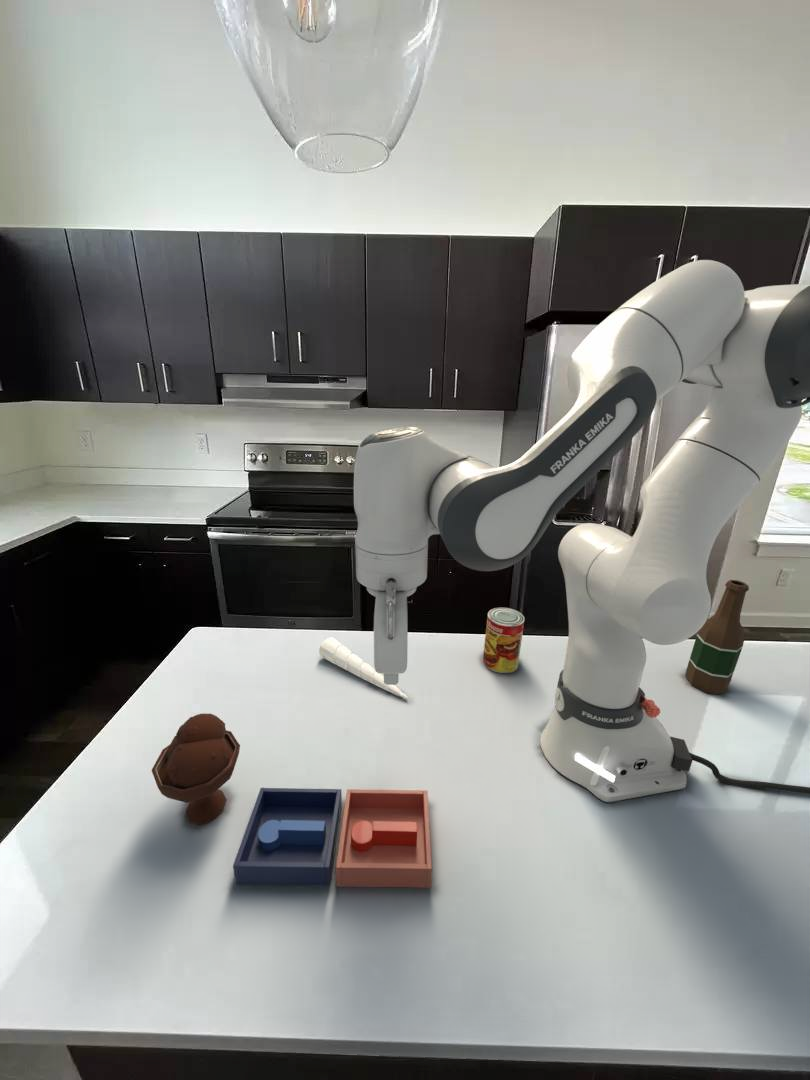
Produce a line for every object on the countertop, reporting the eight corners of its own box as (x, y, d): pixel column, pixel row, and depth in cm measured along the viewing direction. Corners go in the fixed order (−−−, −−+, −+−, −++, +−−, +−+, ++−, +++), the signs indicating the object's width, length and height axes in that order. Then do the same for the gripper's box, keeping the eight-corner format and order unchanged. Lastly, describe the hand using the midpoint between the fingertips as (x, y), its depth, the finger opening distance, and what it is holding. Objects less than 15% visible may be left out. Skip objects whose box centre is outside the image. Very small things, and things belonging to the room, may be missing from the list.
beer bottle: (726, 680, 93) (760, 580, 84) (728, 700, 87) (766, 595, 78) (684, 667, 97) (713, 571, 88) (683, 686, 90) (715, 584, 82)
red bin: (426, 807, 63) (427, 790, 62) (430, 887, 53) (431, 869, 52) (347, 806, 63) (346, 789, 62) (336, 886, 53) (335, 867, 52)
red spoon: (416, 829, 59) (416, 815, 58) (416, 853, 56) (417, 838, 55) (352, 828, 59) (352, 813, 58) (349, 851, 56) (349, 837, 55)
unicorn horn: (395, 711, 81) (395, 690, 80) (317, 659, 96) (316, 641, 94) (411, 698, 85) (412, 678, 83) (334, 650, 99) (333, 633, 98)
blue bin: (342, 806, 63) (341, 788, 62) (330, 886, 53) (329, 867, 52) (262, 805, 63) (260, 787, 62) (236, 885, 53) (232, 866, 52)
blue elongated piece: (327, 828, 59) (326, 814, 58) (323, 852, 56) (322, 837, 55) (263, 827, 59) (261, 812, 58) (255, 851, 56) (253, 836, 55)
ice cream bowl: (166, 789, 65) (148, 710, 60) (244, 766, 69) (233, 690, 64) (159, 856, 56) (137, 770, 51) (249, 824, 60) (237, 742, 55)
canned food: (478, 652, 100) (483, 607, 96) (511, 651, 101) (517, 606, 97) (488, 674, 93) (493, 626, 89) (523, 672, 94) (530, 625, 89)
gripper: (421, 604, 43) (418, 714, 48) (414, 536, 62) (412, 619, 67) (359, 604, 43) (362, 714, 47) (370, 535, 62) (372, 618, 67)
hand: (391, 657), depth 57 cm, fingers open, 8 cm apart
